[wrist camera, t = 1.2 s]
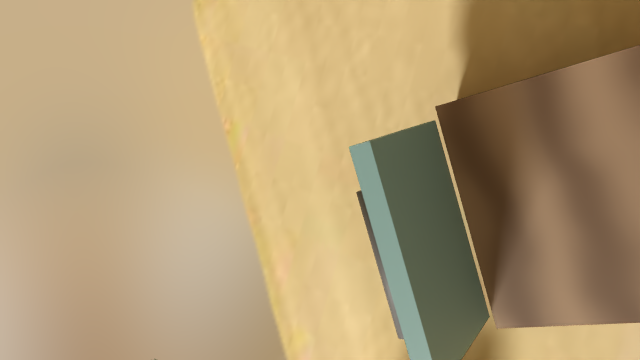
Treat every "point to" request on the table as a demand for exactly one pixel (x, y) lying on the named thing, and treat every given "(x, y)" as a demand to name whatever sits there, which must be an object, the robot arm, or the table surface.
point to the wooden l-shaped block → (554, 192)
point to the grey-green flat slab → (420, 242)
